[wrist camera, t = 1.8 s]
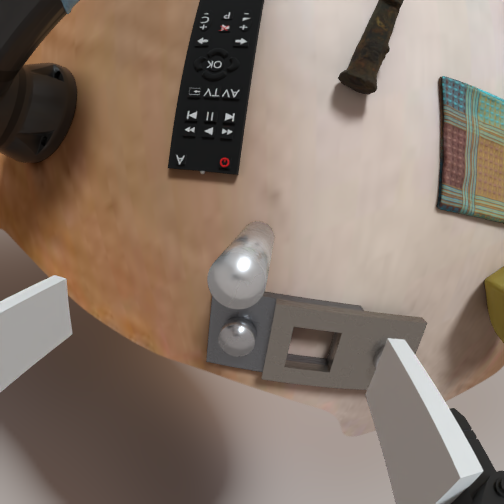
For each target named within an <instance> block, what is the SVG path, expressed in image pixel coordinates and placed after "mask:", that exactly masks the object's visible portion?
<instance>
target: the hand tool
mask: <svg viewBox="0 0 504 504" xmlns="http://www.w3.org/2000/svg"><path fill="white" fill-rule="evenodd" d="M403 1H404V0H379V2H378V4H377V6H376V8H375V10H374V12H373V14H372V16H371V18H370V20H369V23H368V25H367V27H366V29H365V31H364V33H363V35H362V38H361V40H360V42H359V44H358V45H357V47H356V50H355V52H354V55H353V56H352V59H351V62H350V64H349V67H348V69H347V70H345V71H343V72H342V73H340V75H339V77H338V79H339V80H340V81H341V83H342V84H344V85H346V86H348V87H350V88H351V89H353V90H355V91H357V92H360V93H363V94H370V93H373V92H375V91H376V89H377V79H376V78H377V72H378V70H379V68H380V66H381V64H382V61H383V60H384V58H385V55H386V54H387V53H388V52H389V49H390V48H389V46H388V43H389V39H390V36H391V34H392V31H393V28H394V25H395V21H396V18H397V16H398V13H399V9H400V7H401V5H402V3H403Z"/></svg>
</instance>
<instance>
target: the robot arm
mask: <svg viewBox="0 0 504 504" xmlns="http://www.w3.org/2000/svg"><path fill="white" fill-rule="evenodd" d="M78 1H79V0H0V153H2V154H4V155H6V156H8V157H10V158H12V159H14V160H16V161H19V162H23V163H36V162H40V161H42V160H44V159H46V158H47V157H49V156H50V155H51V154H52V153H53V152H54V151H55V150H56V149H57V148H58V146H59V145H60V144H61V142H62V141H63V139H64V137H65V135H66V133H67V131H68V129H69V127H70V125H71V122H72V119H73V116H74V112H75V107H76V100H77V88H76V82H75V79H74V77H73V75H72V73H71V72H70V71H69V70H68V69H67V68H65V67H62V66H60V65H57V64H54V63H40V64H29V65H24V64H25V62H26V61H27V60H28V58H29V57H30V56H31V54H32V53H33V52H34V51H35V49H36V48H37V47H38V46H39V44H40V43H41V42H42V41H43V40H44V38H45V37H46V36H47V35H48V34H49V32H50V31H51V30H52V29H53V28H54V27H55V26H56V25H57V24H58V22H59V21H60V20H61V19H62V18H63V17H64V16H65V15H66V14H69V13H70V12H71V9H72V8H73V7H74V6H75V4H76V3H77V2H78ZM70 335H72V328H71V320H70V312H69V304H68V293H67V281H66V278H62V277H59V276H56V275H54V276H52V277H49V278H47V279H45V280H43V281H41V282H39V283H37V284H35V285H33V286H30V287H28V288H26V289H24V290H22V291H20V292H18V293H16V294H14V295H12V296H10V297H8V298H6V299H4V300H2V301H0V392H1V391H2V390H4V389H5V388H6V387H7V386H8V385H9V384H11V383H12V382H13V381H14V380H15V379H17V378H18V377H19V376H20V375H21V374H23V373H24V372H25V371H26V370H28V369H29V368H30V367H31V366H33V365H34V364H35V363H36V362H38V361H39V360H40V359H41V358H43V357H44V356H45V355H46V354H48V353H49V352H50V351H51V350H52V349H54V348H55V347H56V346H58V345H59V344H60V343H62V342H63V341H64V340H65V339H67V338H68V337H69V336H70ZM365 395H366V398H367V402H368V405H369V408H370V411H371V414H372V418H373V421H374V424H375V428H376V431H377V434H378V438H379V441H380V445H381V448H382V452H383V456H384V459H385V462H386V466H387V470H388V474H389V478H390V482H391V486H392V490H393V494H394V498H395V502H396V504H504V471H498V472H496V470H495V469H494V467H493V465H492V463H491V461H490V460H489V458H488V456H487V454H486V452H485V451H484V449H483V447H482V445H481V444H480V442H479V440H478V439H476V435H475V433H474V432H473V430H472V431H471V427H470V425H469V423H468V422H467V420H466V418H465V417H464V416H463V415H461V414H460V413H459V412H458V411H457V410H456V409H454V408H452V409H449V408H448V406H447V404H446V403H445V401H444V399H443V398H442V396H441V394H440V393H439V391H438V389H437V388H436V386H435V385H434V383H433V382H432V380H431V378H430V377H429V375H428V374H427V372H426V371H425V369H424V368H423V366H422V365H421V363H420V361H419V360H418V358H417V357H416V355H415V354H414V352H413V351H412V349H411V348H410V347H409V345H408V344H407V342H406V341H405V339H392V338H387V341H386V344H385V347H384V349H383V352H382V355H381V357H380V360H379V363H378V365H377V368H376V370H375V373H374V375H373V378H372V380H371V382H370V385H369V387H368V390H367V392H366V394H365Z"/></svg>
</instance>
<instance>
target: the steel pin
mask: <svg viewBox="0 0 504 504" xmlns="http://www.w3.org/2000/svg"><path fill="white" fill-rule="evenodd" d="M273 244H274V232H273V230H272V228H271V227H270V226H269V225H268V224H266V223H264V222H261V221H255V222H252V223H250V224H248V225H247V226H246V227H245V228H244V229H243V231H242V232H241V233H240V234H239V235H238V236H237V237H236V238H235V240H234V241H233V242H232V243H231V244H230V245H229V246H228V247H227V249H226V250H225V251H224V252H223V253H222V254H221V255H220V256H219V258H218V259H217V260H216V261H215V262H214V263H213V264H212V266H211V268H210V270H209V273H208V287H209V290H210V292H211V294H212V295H213V297H214V298H215V299H216V300H217V301H218V302H219V303H220V304H222V305H224V306H226V307H228V308H232V309H245V308H248V307H251V306H253V305H254V304H256V303H257V302H258V301H259V300H260V299H261V297H262V296H263V294H264V291H265V287H266V282H267V277H268V272H269V266H270V261H271V255H272V250H273Z"/></svg>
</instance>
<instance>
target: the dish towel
mask: <svg viewBox="0 0 504 504" xmlns="http://www.w3.org/2000/svg"><path fill="white" fill-rule="evenodd" d="M439 94H440V96H439V97H440V112H441V154H440V178H439V197H438V204H437V208H439V209H442V210H446V211H451V212H455V213H460V214H465V215H469V216H474V217H479V218H484V219H488V220H491V221H495V222H502V223H504V100H503V99H501V98H499V97H497V96H495V95H492V94H490V93H488V92H485V91H483V90H480V89H478V88H476V87H474V86H471V85H468V84H466V83H463V82H460V81H457V80H454V79H451V78H448V77H445V76H442V77H440V78H439Z"/></svg>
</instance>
